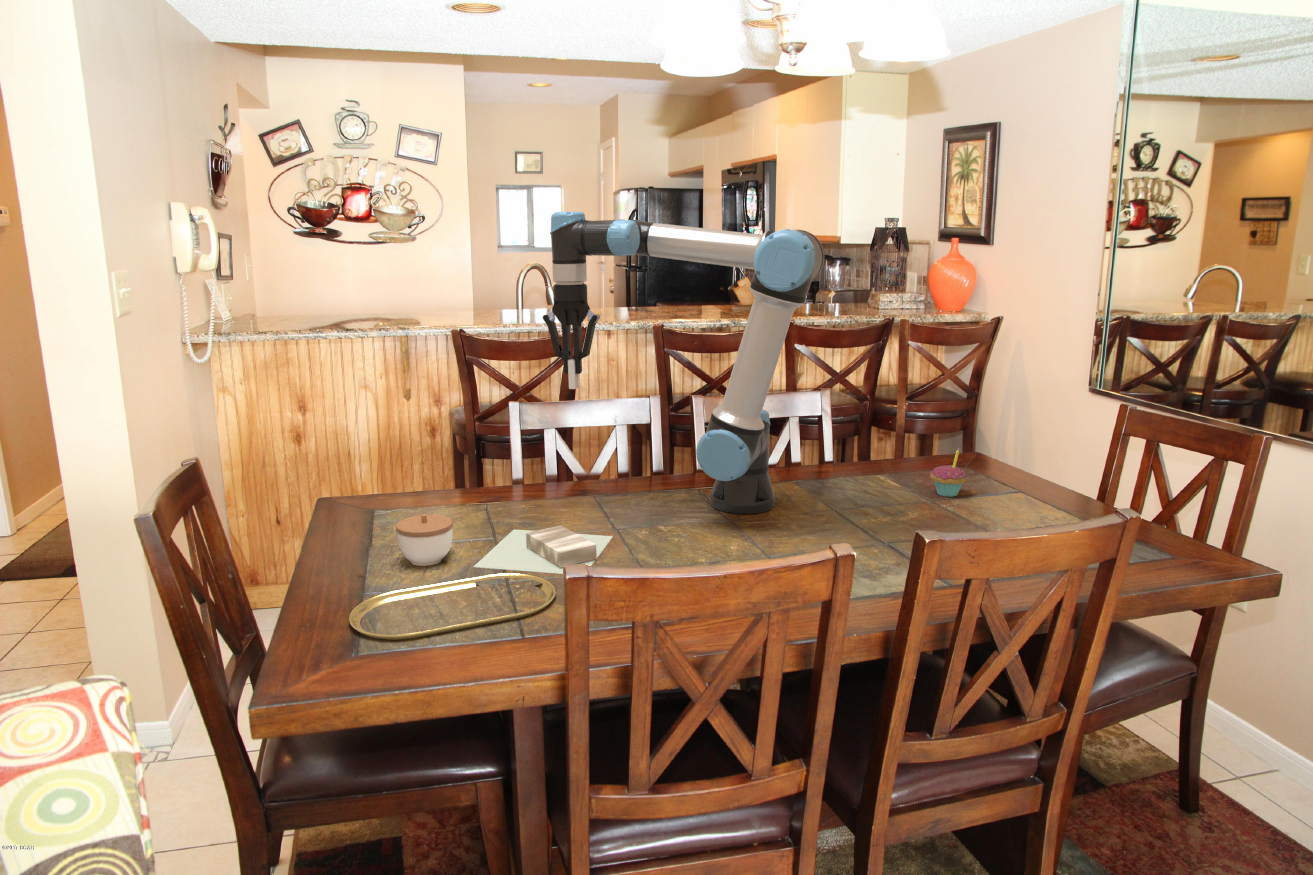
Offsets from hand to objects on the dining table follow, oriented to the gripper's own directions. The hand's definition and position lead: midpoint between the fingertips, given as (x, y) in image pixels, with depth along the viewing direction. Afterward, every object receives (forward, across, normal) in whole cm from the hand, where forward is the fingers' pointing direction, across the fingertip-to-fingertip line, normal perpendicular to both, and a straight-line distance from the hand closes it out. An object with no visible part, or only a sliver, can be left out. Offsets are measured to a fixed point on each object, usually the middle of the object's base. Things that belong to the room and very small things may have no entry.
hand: (573, 387), depth 204 cm
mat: (+28, -3, +32) cm, 42 cm away
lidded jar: (+28, +19, +40) cm, 52 cm away
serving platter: (+29, +4, +60) cm, 66 cm away
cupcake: (+29, -86, -26) cm, 94 cm away
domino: (+26, -1, +28) cm, 38 cm away
